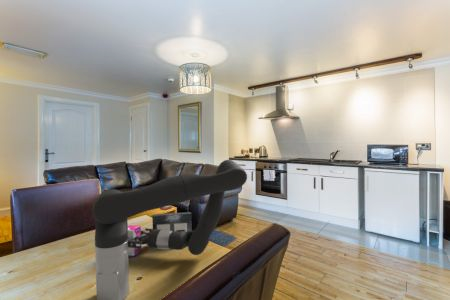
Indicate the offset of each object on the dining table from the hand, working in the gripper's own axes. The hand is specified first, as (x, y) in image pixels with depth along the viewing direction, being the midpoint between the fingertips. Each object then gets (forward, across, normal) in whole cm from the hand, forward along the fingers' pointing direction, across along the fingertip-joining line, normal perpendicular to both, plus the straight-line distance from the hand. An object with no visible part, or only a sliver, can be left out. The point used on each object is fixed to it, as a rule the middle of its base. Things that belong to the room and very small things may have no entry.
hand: (127, 236), depth 99 cm
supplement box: (-2, 0, +8) cm, 8 cm away
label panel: (-15, -13, +8) cm, 21 cm away
